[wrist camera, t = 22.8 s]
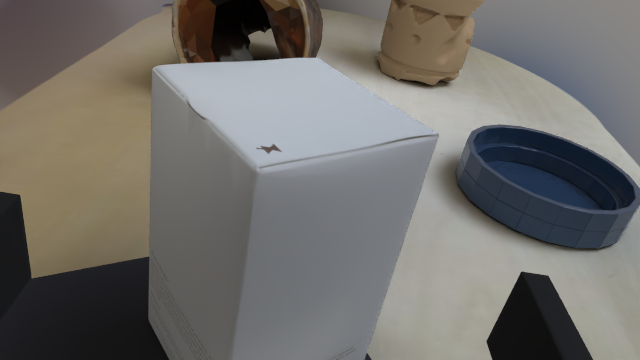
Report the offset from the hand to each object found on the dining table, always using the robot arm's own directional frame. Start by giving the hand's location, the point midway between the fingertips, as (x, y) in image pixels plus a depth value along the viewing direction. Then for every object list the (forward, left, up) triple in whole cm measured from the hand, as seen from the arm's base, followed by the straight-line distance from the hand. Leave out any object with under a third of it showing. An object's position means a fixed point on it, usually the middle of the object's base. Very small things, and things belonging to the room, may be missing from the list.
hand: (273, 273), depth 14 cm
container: (+48, -49, -15) cm, 70 cm away
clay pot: (+48, -23, -15) cm, 55 cm away
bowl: (+16, -39, -15) cm, 44 cm away
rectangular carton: (+8, -5, -14) cm, 17 cm away
